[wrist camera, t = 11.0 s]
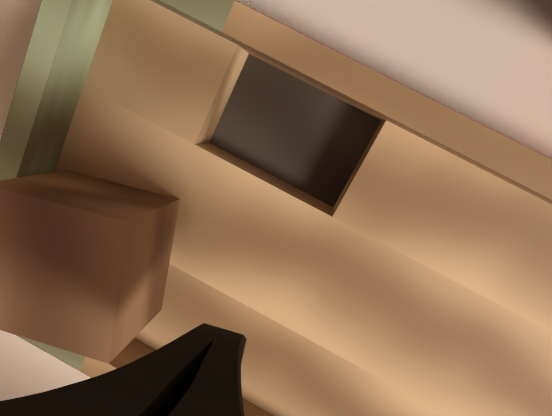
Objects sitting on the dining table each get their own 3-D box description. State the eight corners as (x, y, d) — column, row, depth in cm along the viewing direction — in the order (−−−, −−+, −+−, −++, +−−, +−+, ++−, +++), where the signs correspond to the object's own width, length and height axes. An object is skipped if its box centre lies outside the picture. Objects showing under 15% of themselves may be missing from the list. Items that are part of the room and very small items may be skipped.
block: (180, 199, 16) (128, 222, 12) (161, 309, 17) (108, 363, 13) (67, 169, 16) (-18, 183, 13) (56, 279, 18) (-25, 322, 14)
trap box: (631, 601, 18) (708, 727, 15) (28, 266, 20) (-47, 299, 16) (900, 354, 15) (1100, 435, 11) (132, -35, 16) (67, -84, 12)
